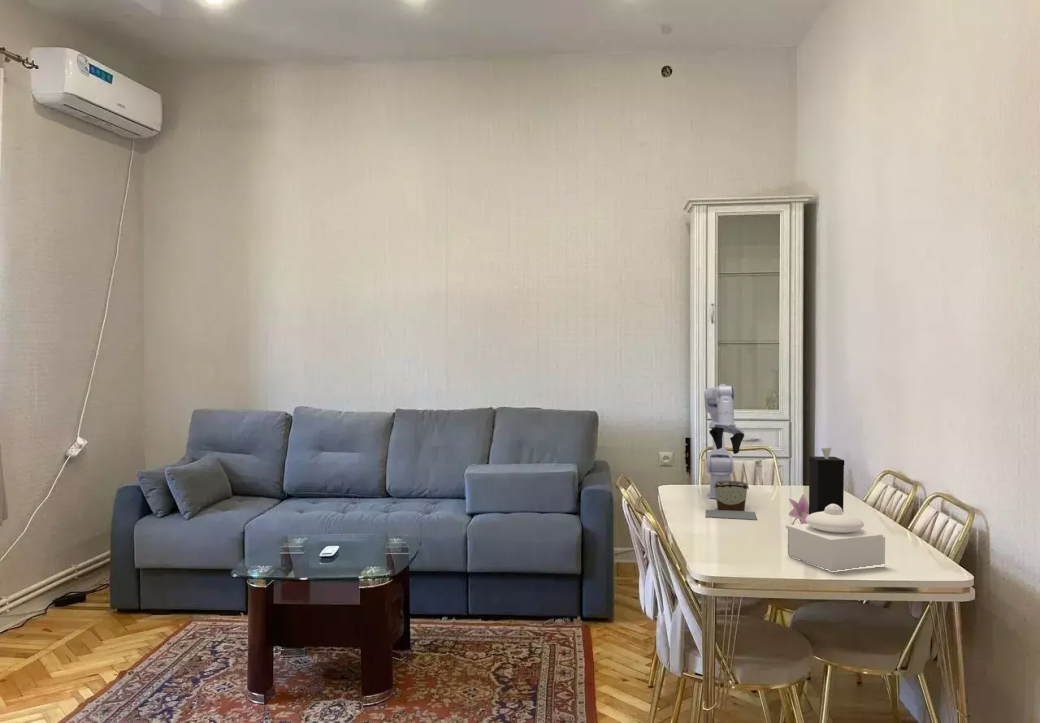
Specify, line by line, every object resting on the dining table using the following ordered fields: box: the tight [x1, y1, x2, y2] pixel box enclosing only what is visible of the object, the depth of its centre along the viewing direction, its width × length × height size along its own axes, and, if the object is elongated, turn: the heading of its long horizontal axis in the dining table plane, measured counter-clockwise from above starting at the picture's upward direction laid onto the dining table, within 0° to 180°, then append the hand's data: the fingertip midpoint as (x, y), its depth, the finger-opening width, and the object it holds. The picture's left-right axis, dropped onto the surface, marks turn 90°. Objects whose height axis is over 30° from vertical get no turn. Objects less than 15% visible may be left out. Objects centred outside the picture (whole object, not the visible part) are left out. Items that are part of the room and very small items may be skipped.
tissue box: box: [808, 447, 845, 515], centre depth 236 cm, size 8×8×28 cm
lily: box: [788, 494, 809, 525], centre depth 253 cm, size 12×12×10 cm
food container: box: [714, 480, 750, 512], centre depth 279 cm, size 12×6×10 cm, turn 84°
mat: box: [705, 509, 758, 521], centre depth 270 cm, size 12×17×1 cm
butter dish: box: [785, 504, 886, 571], centre depth 212 cm, size 18×18×16 cm
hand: (727, 450), depth 277 cm, fingers open, 7 cm apart
